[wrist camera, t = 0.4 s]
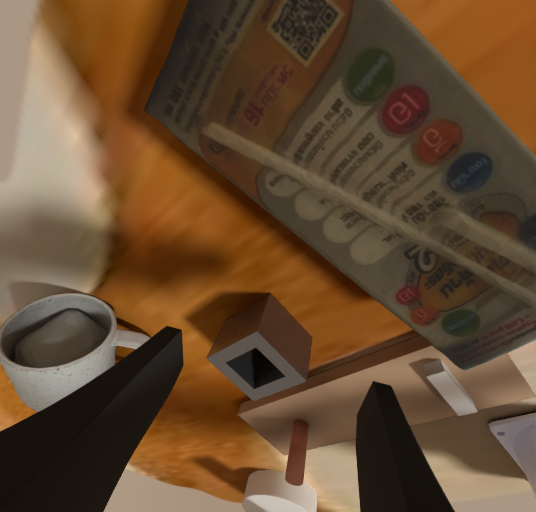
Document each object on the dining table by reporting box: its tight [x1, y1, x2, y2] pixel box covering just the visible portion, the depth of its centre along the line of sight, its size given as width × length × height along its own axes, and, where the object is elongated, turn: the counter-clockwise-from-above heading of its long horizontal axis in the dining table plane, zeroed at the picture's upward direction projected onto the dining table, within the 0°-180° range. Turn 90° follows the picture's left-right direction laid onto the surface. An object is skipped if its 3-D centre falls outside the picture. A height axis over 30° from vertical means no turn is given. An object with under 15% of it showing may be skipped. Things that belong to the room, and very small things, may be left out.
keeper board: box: [238, 335, 536, 486], centre depth 22 cm, size 7×22×6 cm, turn 132°
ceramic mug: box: [0, 293, 150, 412], centre depth 25 cm, size 11×8×8 cm
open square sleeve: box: [206, 293, 312, 401], centre depth 21 cm, size 5×5×4 cm
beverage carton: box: [144, 0, 536, 370], centre depth 13 cm, size 8×19×7 cm, turn 52°
